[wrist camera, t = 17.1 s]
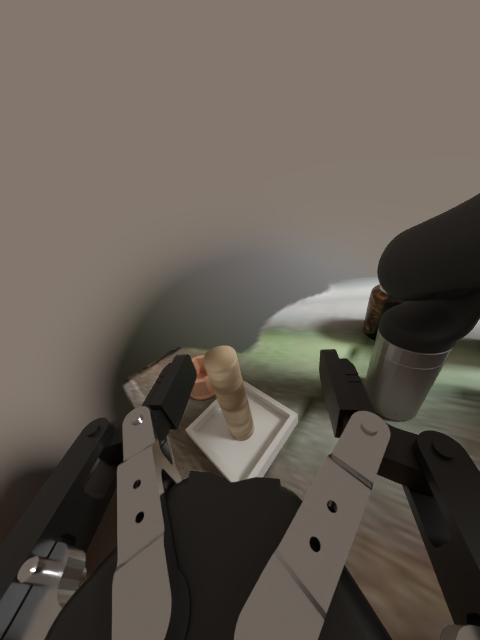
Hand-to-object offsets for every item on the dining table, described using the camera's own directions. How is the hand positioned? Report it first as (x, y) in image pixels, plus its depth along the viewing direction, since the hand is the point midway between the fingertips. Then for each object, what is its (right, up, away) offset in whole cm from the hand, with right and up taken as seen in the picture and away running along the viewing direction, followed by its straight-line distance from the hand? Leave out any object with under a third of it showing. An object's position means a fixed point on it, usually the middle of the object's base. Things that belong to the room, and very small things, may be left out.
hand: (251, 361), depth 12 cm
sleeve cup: (-10, -14, +40) cm, 44 cm away
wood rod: (0, -19, +28) cm, 34 cm away
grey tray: (0, -20, +29) cm, 35 cm away
